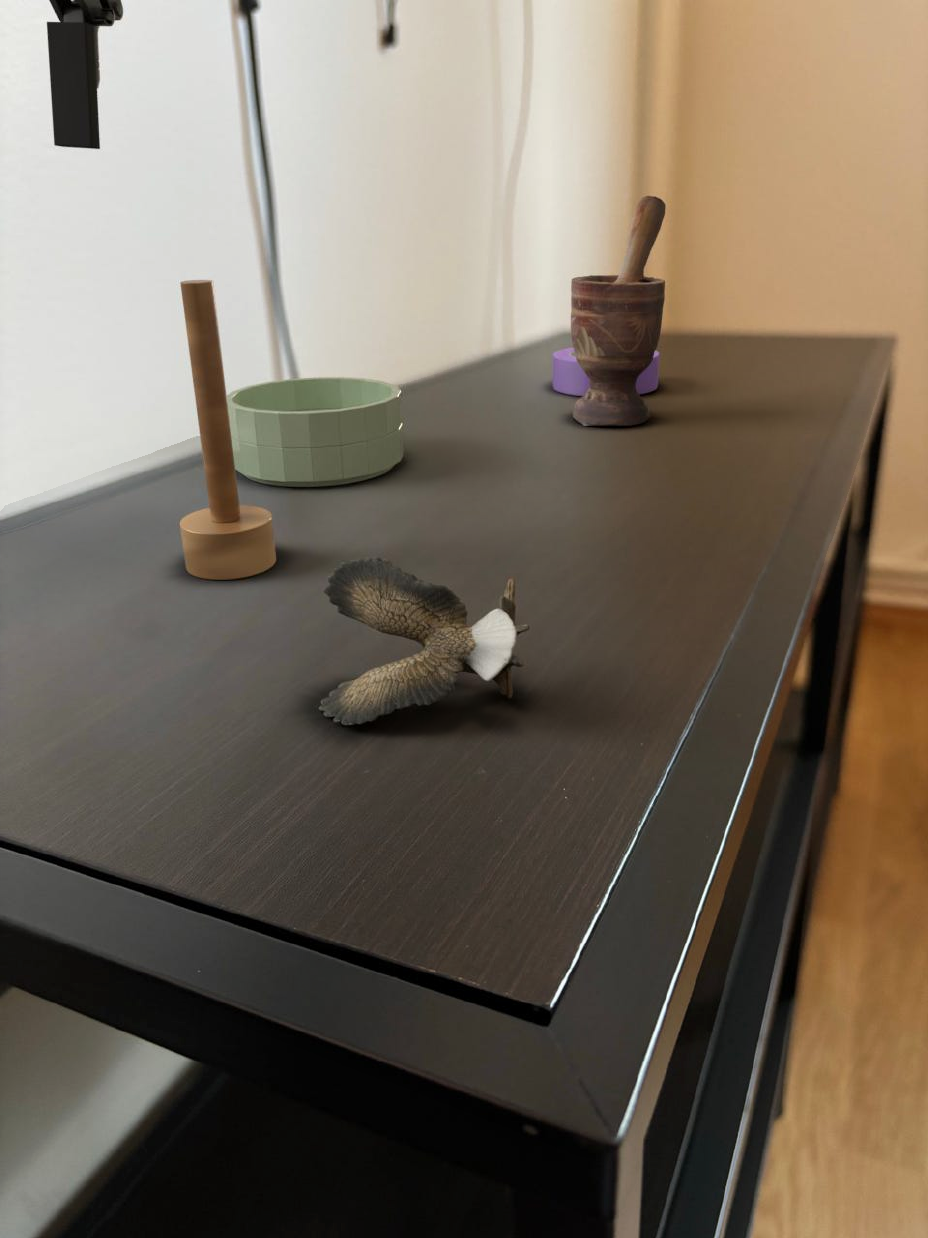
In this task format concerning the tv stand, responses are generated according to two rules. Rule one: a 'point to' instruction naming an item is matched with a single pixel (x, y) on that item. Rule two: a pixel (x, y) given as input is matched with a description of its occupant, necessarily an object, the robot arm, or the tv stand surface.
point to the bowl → (316, 430)
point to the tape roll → (577, 382)
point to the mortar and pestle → (619, 327)
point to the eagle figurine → (427, 619)
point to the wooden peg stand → (218, 461)
